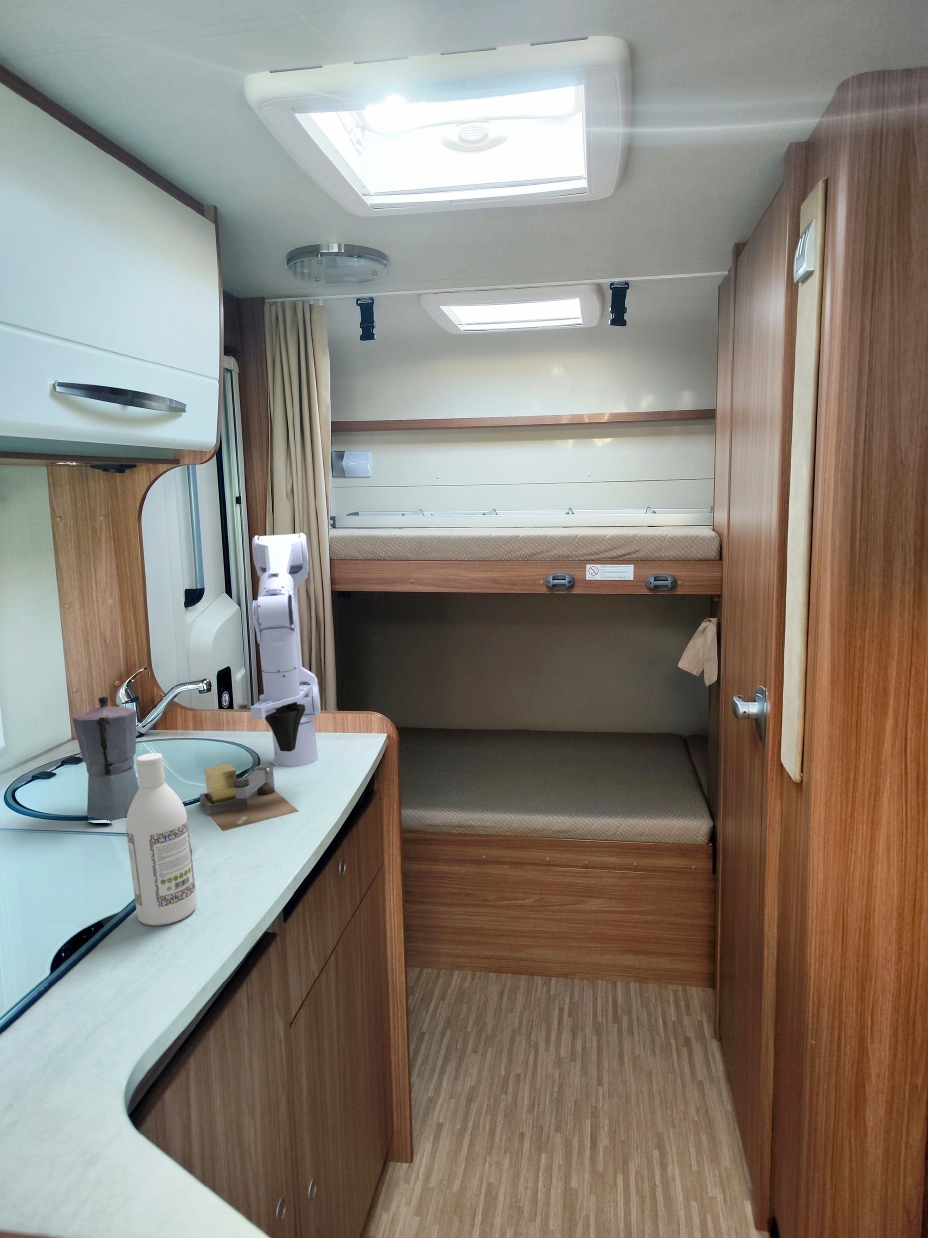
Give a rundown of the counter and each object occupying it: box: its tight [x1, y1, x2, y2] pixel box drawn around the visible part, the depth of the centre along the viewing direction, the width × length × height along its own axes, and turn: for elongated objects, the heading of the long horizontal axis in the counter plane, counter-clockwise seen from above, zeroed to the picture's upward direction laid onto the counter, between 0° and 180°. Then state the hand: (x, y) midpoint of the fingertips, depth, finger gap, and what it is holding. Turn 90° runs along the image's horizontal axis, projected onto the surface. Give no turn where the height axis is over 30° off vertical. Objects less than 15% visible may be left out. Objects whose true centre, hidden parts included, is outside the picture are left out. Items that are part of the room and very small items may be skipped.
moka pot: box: [71, 696, 140, 822], centre depth 128 cm, size 10×15×20 cm, turn 26°
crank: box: [233, 763, 276, 798], centre depth 130 cm, size 11×3×5 cm, turn 170°
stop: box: [204, 763, 237, 804], centre depth 129 cm, size 4×4×6 cm
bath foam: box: [125, 752, 198, 926], centre depth 96 cm, size 7×7×20 cm
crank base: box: [199, 790, 299, 832], centre depth 128 cm, size 14×12×3 cm
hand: (287, 750), depth 129 cm, fingers closed
